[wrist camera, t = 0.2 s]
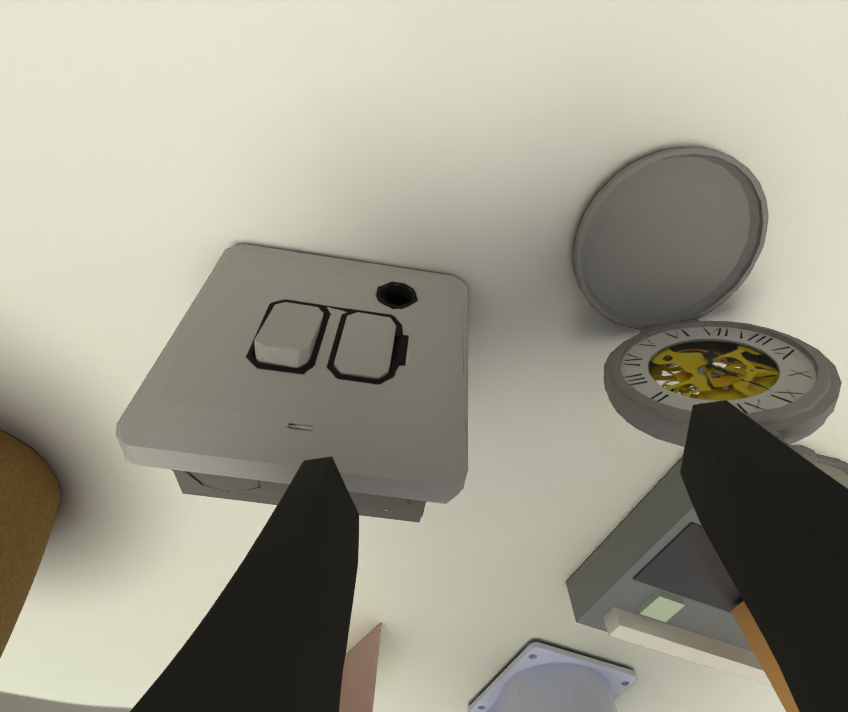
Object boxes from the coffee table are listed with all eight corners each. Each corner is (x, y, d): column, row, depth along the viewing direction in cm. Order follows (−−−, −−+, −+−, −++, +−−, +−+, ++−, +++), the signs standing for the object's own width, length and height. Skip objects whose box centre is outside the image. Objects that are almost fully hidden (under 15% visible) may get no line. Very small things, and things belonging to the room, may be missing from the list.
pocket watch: (687, 99, 16) (985, 120, 7) (808, 268, 19) (1131, 429, 10) (503, 270, 19) (559, 429, 10) (630, 395, 22) (759, 603, 13)
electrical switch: (470, 273, 19) (484, 441, 12) (447, 376, 22) (447, 564, 15) (231, 237, 19) (82, 387, 11) (240, 347, 22) (128, 525, 14)
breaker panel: (781, 652, 31) (817, 713, 28) (565, 582, 28) (581, 640, 25) (968, 523, 25) (1039, 582, 22) (720, 417, 22) (763, 468, 19)
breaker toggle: (791, 631, 25) (861, 740, 21) (730, 611, 25) (790, 719, 20) (847, 592, 24) (935, 701, 20) (783, 568, 23) (860, 677, 19)
